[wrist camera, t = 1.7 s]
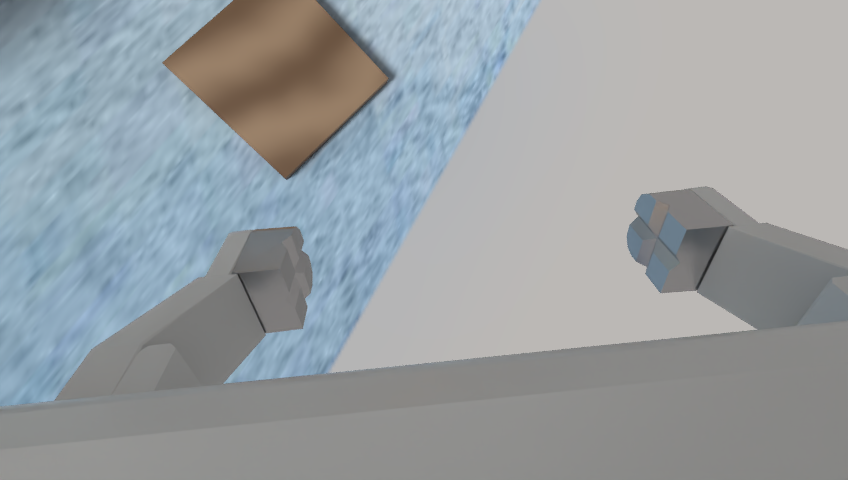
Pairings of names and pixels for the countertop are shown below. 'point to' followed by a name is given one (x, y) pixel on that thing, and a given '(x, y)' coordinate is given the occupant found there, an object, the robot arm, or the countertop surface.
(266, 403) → the robot arm
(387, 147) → the countertop surface
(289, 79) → the walnut board
